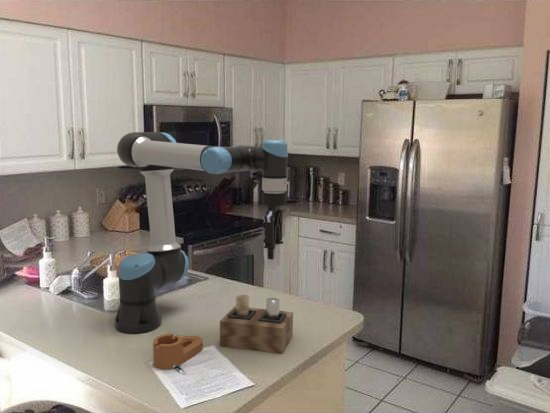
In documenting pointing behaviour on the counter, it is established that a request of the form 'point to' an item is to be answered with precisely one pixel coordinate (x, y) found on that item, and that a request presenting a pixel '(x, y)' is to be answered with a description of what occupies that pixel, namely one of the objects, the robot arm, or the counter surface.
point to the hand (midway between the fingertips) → (273, 266)
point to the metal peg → (272, 309)
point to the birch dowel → (242, 305)
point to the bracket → (175, 350)
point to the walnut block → (256, 331)
